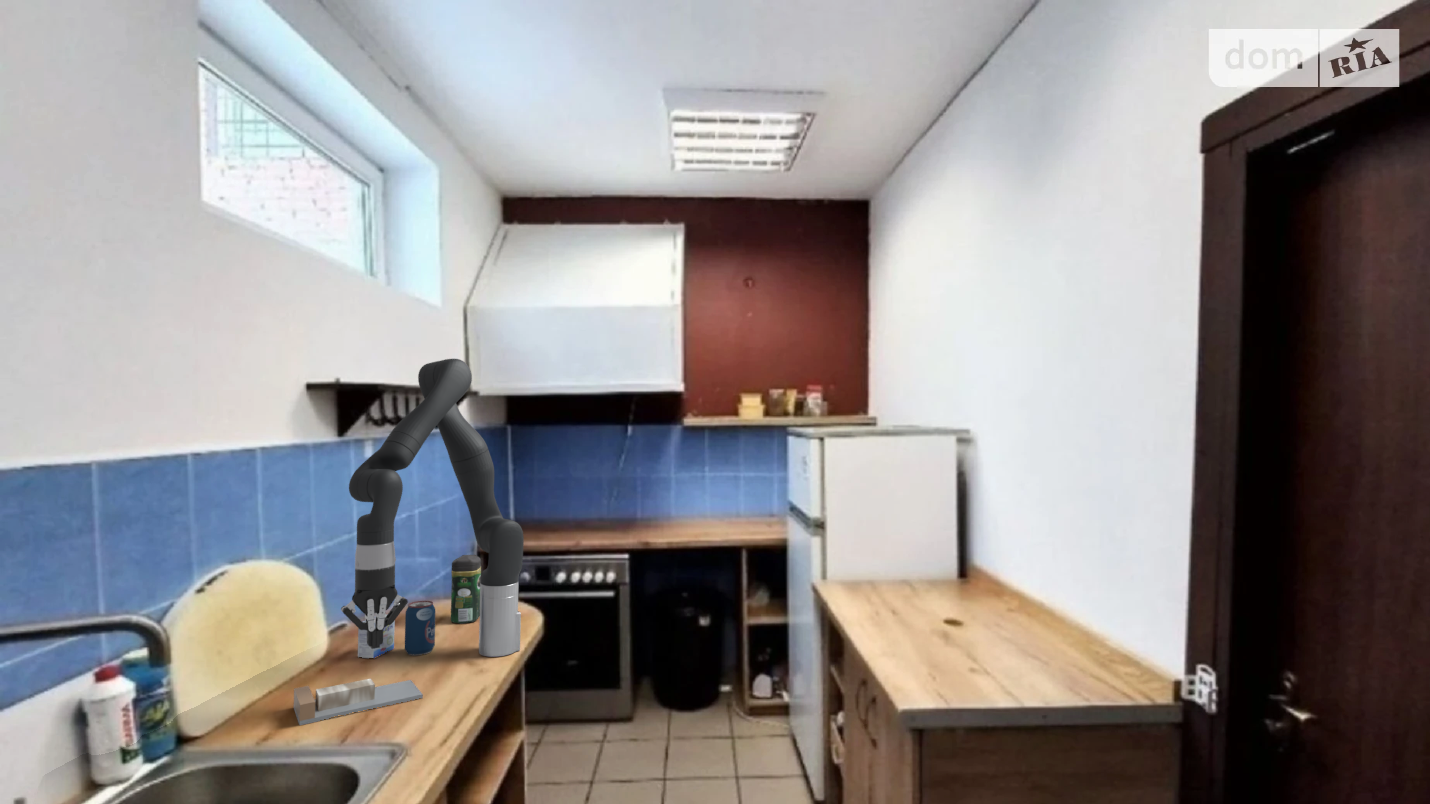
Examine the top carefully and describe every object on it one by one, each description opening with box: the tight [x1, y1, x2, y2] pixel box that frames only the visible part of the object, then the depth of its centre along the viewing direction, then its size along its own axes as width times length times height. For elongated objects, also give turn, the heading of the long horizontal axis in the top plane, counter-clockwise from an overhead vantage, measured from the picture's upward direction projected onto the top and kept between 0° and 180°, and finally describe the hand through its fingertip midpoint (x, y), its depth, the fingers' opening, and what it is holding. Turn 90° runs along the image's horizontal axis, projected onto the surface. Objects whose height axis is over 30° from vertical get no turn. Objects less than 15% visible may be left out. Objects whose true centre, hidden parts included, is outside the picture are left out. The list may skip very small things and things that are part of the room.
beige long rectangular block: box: [314, 678, 376, 711], centre depth 137 cm, size 3×4×10 cm
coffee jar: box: [450, 554, 482, 625], centre depth 199 cm, size 10×8×19 cm
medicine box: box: [357, 613, 396, 659], centre depth 169 cm, size 8×4×9 cm, turn 168°
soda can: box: [404, 600, 436, 656], centre depth 170 cm, size 7×7×12 cm
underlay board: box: [293, 679, 424, 726], centre depth 139 cm, size 22×10×4 cm, turn 127°
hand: (374, 647), depth 142 cm, fingers closed
